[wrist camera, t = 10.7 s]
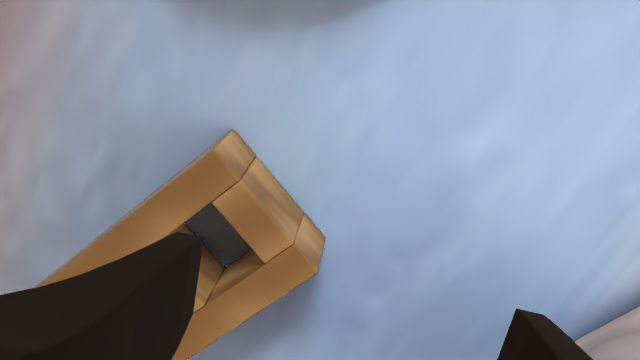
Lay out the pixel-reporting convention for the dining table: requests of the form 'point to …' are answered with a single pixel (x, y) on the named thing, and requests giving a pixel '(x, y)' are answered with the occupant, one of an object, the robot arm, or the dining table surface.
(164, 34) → the dining table surface
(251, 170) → the pen block
